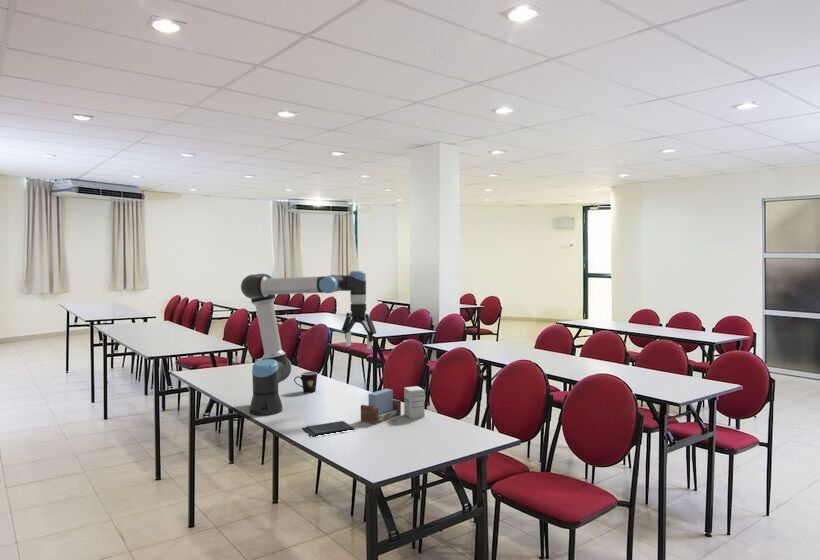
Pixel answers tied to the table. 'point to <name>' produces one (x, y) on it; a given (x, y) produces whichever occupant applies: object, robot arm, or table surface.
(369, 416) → the track frame
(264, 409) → the robot arm
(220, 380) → the table surface
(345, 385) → the table surface
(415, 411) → the supplement box
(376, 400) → the blue-grey rectangular block
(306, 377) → the coffee mug
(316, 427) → the wallet
